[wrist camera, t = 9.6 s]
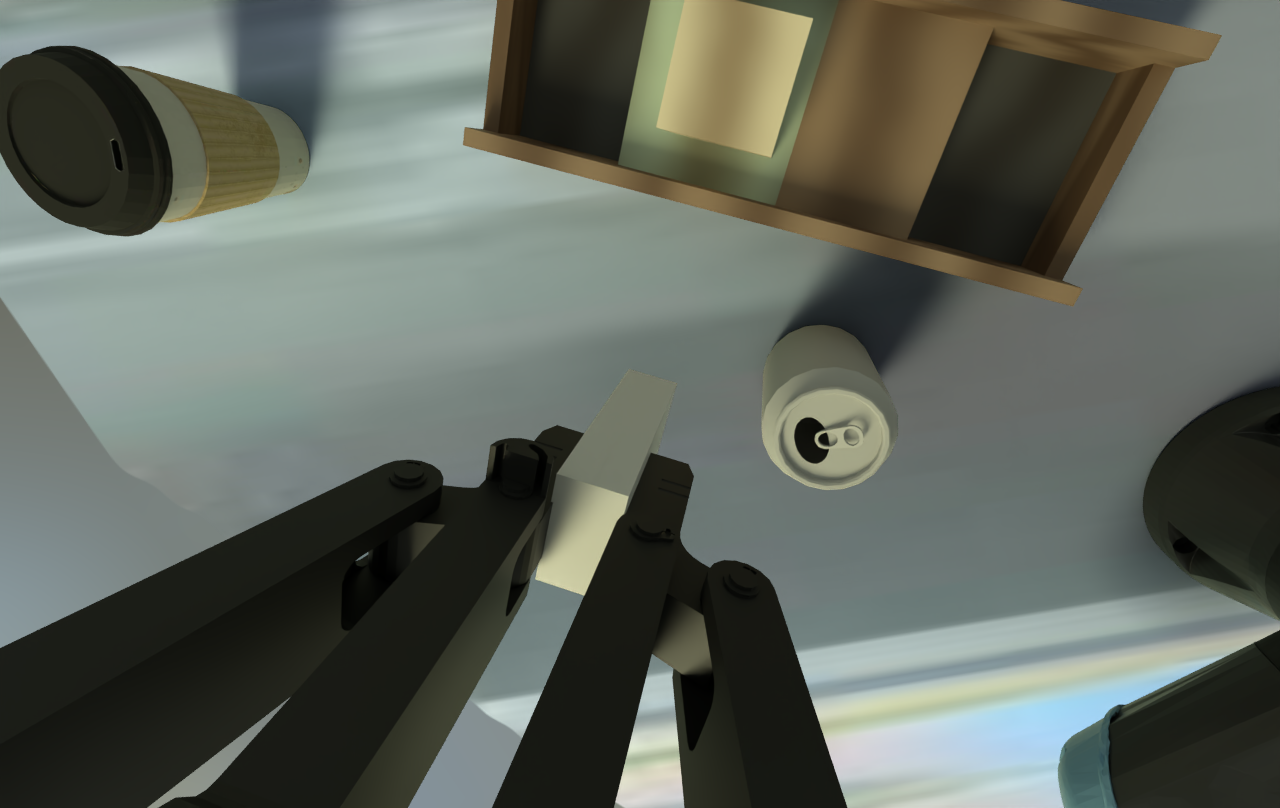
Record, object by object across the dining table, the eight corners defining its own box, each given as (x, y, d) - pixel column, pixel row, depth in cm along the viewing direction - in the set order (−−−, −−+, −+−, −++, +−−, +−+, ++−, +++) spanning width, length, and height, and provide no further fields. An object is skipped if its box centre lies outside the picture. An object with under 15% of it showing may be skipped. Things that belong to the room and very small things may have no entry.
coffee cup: (206, 69, 44) (-47, 27, 30) (326, 87, 43) (118, 51, 29) (225, 207, 48) (8, 224, 34) (335, 227, 47) (155, 254, 33)
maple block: (806, 42, 32) (813, 18, 27) (771, 158, 35) (771, 157, 29) (700, 17, 33) (687, -12, 28) (673, 132, 35) (656, 127, 30)
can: (752, 336, 43) (746, 395, 32) (859, 309, 41) (891, 362, 30) (776, 428, 45) (778, 512, 34) (879, 407, 43) (916, 489, 32)
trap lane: (1141, 58, 33) (1222, 35, 27) (1026, 284, 38) (1073, 306, 32) (534, -78, 36) (489, -124, 30) (506, 147, 42) (463, 145, 36)
